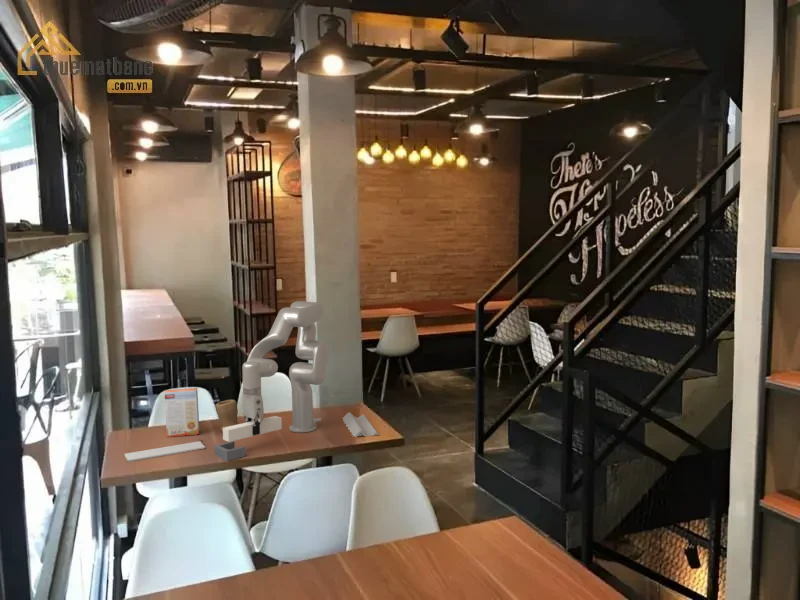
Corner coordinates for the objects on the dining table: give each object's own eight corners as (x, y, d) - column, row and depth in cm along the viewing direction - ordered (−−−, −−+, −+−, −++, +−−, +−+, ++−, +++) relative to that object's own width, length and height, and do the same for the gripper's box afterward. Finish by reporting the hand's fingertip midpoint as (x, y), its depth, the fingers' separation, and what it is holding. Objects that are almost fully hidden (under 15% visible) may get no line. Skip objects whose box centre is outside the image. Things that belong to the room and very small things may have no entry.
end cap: (232, 450, 279) (232, 441, 279) (245, 456, 271) (245, 446, 271) (214, 455, 273) (214, 445, 273) (227, 461, 266) (226, 451, 265)
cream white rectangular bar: (275, 426, 290) (275, 415, 289) (281, 428, 287) (281, 417, 286) (223, 439, 271) (222, 427, 271) (228, 442, 268) (228, 430, 268)
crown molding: (378, 437, 298) (378, 429, 298) (352, 439, 295) (352, 431, 295) (365, 418, 328) (365, 411, 328) (341, 420, 325) (341, 413, 325)
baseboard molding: (123, 455, 275) (127, 464, 265) (123, 448, 275) (127, 457, 265) (198, 442, 291) (205, 450, 281) (198, 436, 291) (205, 443, 281)
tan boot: (214, 430, 308) (213, 398, 307) (240, 426, 313) (239, 395, 312) (220, 439, 295) (219, 406, 293) (247, 435, 300) (246, 403, 298)
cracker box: (199, 431, 306) (197, 387, 304) (198, 435, 300) (196, 390, 298) (167, 433, 303) (165, 389, 301) (166, 437, 297) (164, 392, 295)
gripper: (270, 392, 274) (271, 435, 275) (249, 386, 286) (250, 427, 288) (254, 395, 269) (255, 439, 270) (233, 389, 281) (234, 430, 283)
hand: (252, 432), depth 279 cm, fingers closed on cream white rectangular bar, 4 cm apart
